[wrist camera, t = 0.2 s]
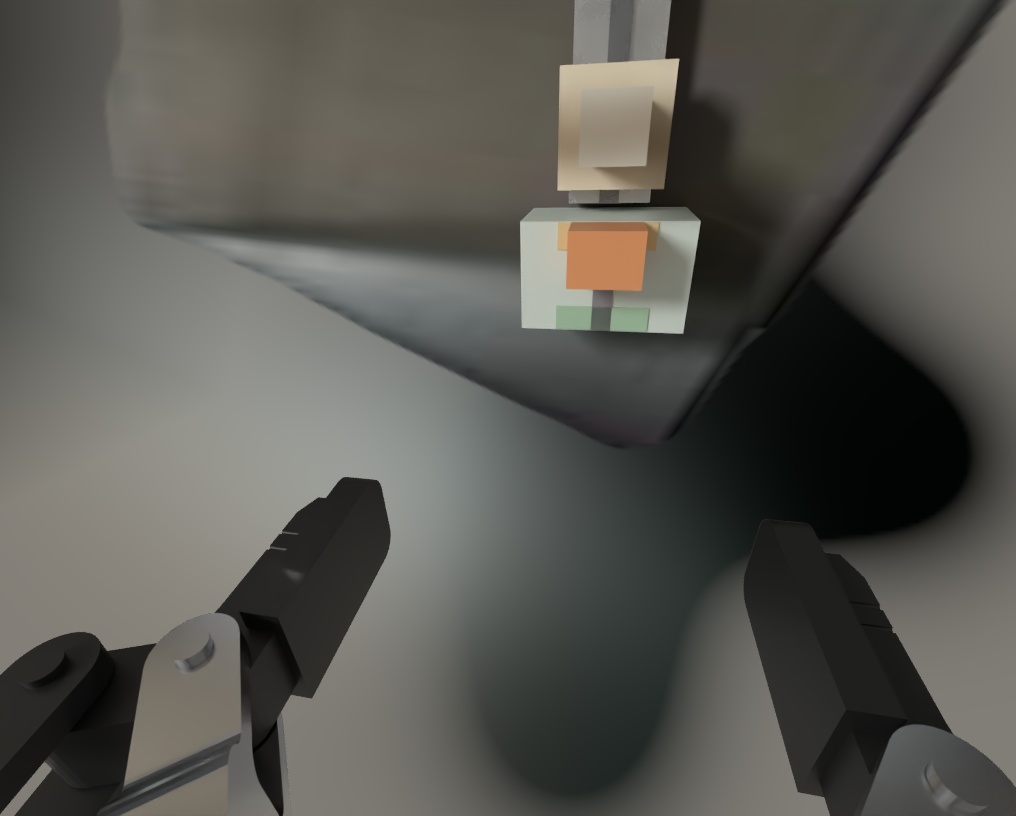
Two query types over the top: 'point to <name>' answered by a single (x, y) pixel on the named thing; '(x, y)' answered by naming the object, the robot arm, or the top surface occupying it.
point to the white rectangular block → (608, 309)
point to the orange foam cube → (606, 255)
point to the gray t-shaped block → (618, 56)
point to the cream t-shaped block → (615, 124)
